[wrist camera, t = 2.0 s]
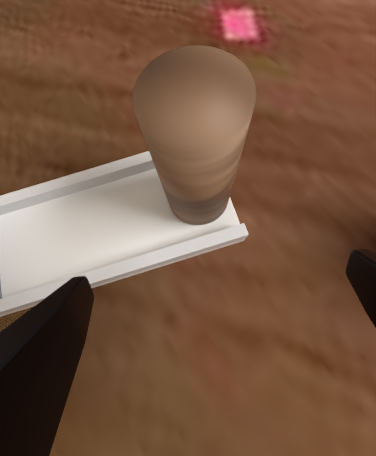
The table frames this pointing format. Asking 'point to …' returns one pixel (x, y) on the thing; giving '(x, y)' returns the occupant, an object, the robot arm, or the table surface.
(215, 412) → the table surface
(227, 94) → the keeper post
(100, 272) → the guide track
